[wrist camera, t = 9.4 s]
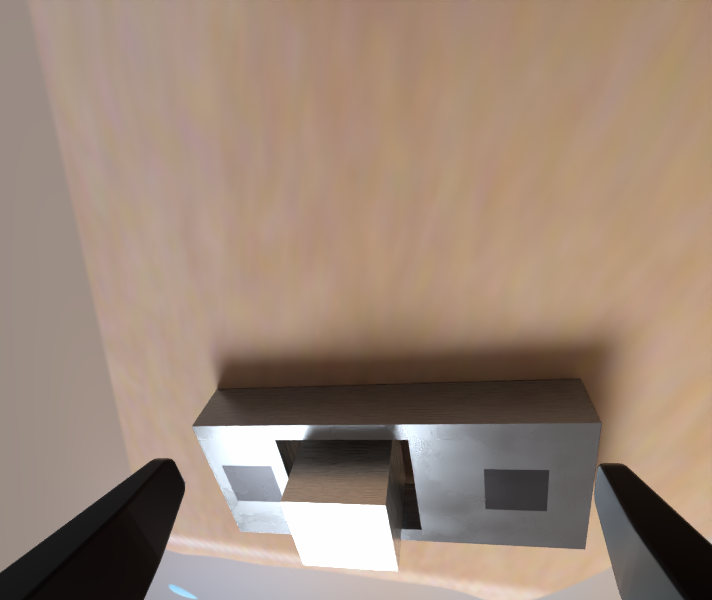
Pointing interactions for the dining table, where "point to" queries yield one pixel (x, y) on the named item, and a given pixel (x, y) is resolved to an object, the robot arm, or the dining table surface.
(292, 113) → the dining table surface
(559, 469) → the grey slotted board
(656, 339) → the dining table surface
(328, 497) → the block
